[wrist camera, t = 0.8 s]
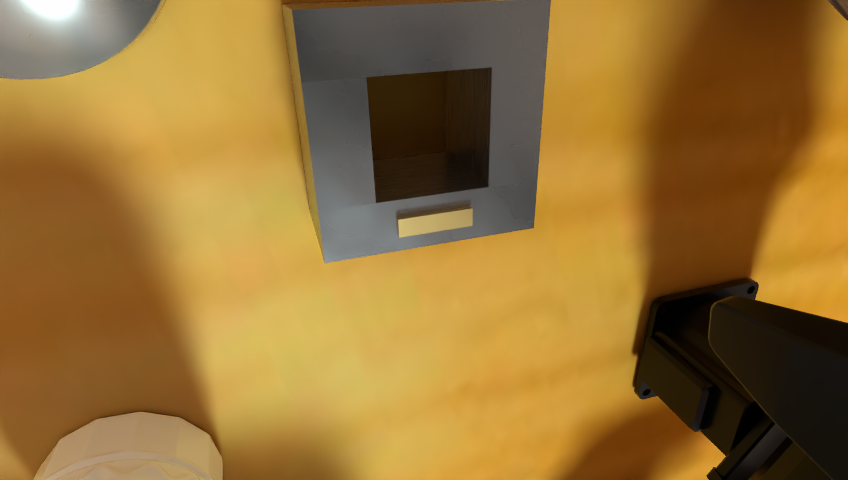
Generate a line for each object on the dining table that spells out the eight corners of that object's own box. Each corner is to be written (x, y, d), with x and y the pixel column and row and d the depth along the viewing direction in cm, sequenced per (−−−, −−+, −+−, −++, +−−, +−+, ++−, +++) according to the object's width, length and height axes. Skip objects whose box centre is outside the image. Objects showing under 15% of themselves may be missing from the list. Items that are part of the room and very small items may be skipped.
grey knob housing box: (491, -5, 18) (554, -2, 14) (485, 187, 21) (536, 230, 17) (281, 4, 16) (292, 10, 12) (310, 212, 19) (325, 266, 16)
